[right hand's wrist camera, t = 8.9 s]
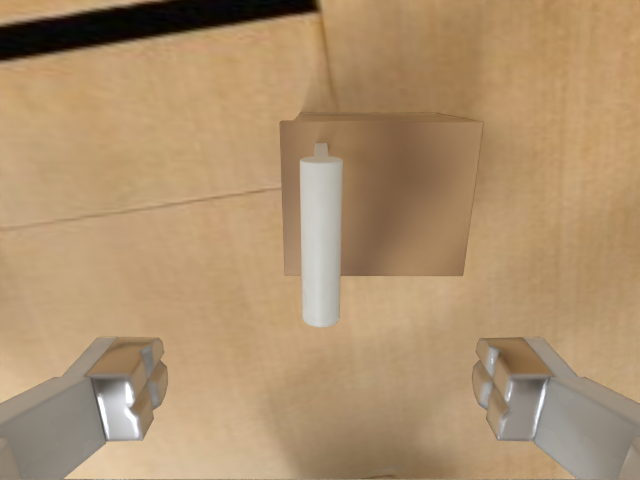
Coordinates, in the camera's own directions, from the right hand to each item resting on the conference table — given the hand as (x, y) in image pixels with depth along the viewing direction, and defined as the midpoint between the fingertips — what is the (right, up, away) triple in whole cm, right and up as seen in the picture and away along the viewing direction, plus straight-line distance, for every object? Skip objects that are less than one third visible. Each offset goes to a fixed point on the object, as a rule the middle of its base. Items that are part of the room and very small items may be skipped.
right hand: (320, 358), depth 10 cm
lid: (+4, +6, +15) cm, 17 cm away
